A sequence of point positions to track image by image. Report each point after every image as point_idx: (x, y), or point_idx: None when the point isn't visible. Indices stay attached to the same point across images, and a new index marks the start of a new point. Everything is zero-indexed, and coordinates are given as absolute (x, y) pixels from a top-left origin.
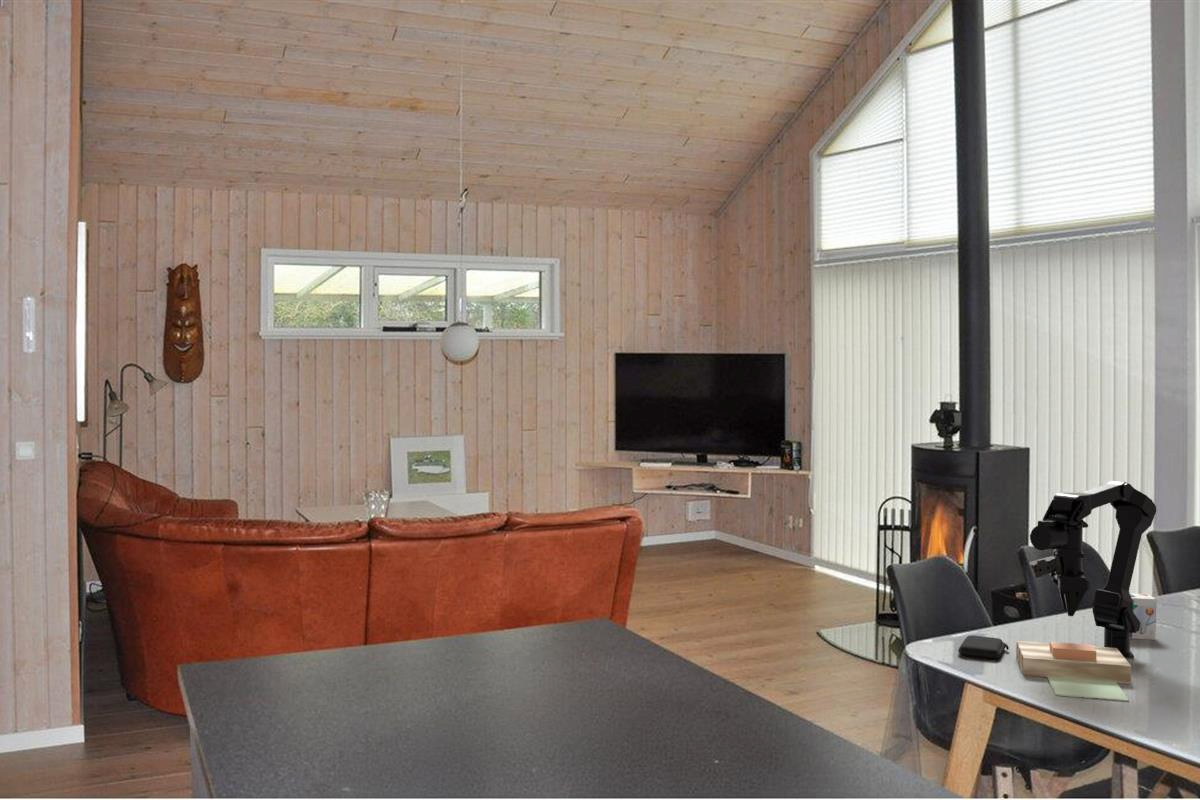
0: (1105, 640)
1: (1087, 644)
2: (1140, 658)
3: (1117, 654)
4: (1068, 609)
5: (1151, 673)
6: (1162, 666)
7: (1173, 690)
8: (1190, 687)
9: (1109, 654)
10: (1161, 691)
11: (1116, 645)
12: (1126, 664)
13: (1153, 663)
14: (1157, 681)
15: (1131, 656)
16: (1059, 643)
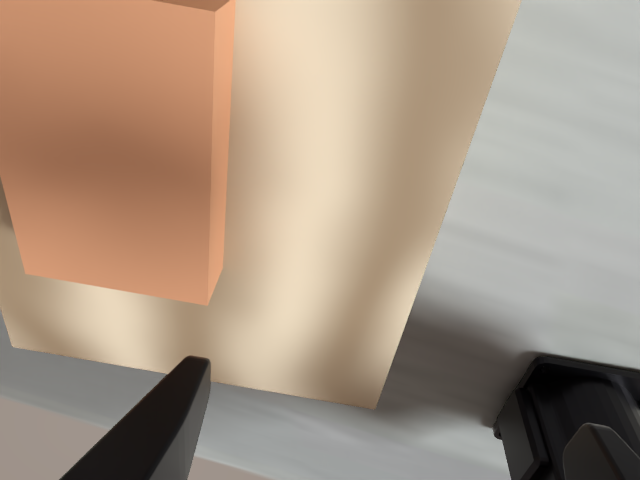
0: (604, 424)
1: (204, 283)
2: (488, 443)
3: (233, 370)
4: (122, 429)
5: (262, 400)
6: (372, 457)
7: (42, 379)
8: (109, 429)
9: (222, 339)
10: (6, 344)
11: (520, 431)
12: (33, 339)
13: (413, 450)
14: (148, 378)
15: (494, 427)
16: (167, 89)
